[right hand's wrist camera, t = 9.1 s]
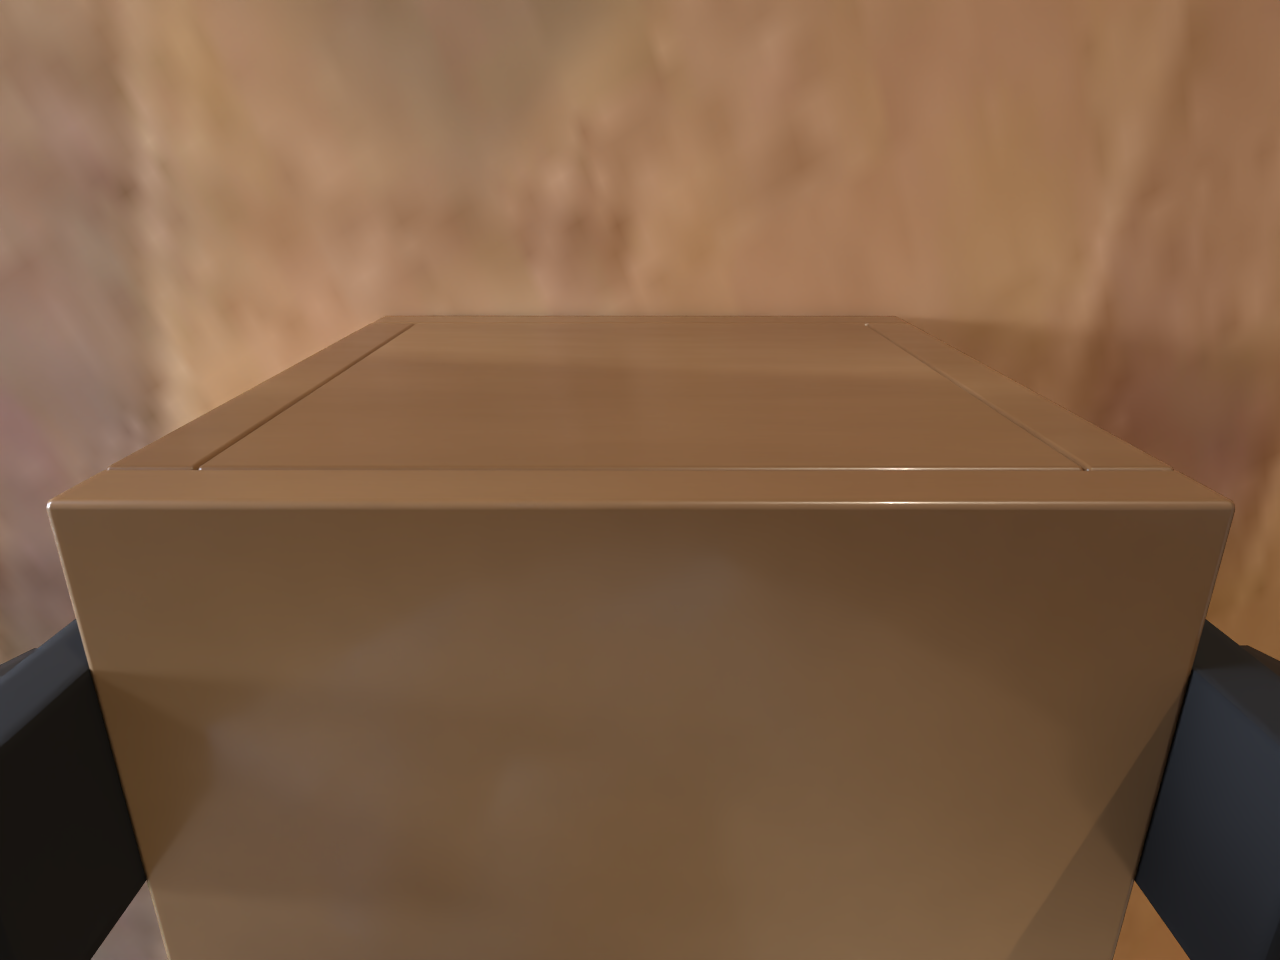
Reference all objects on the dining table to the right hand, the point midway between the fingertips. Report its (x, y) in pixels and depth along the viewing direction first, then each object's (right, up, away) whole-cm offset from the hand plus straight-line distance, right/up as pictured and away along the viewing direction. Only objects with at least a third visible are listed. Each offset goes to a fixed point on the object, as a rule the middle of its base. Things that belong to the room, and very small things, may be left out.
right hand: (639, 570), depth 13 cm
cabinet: (0, -5, +8) cm, 9 cm away
